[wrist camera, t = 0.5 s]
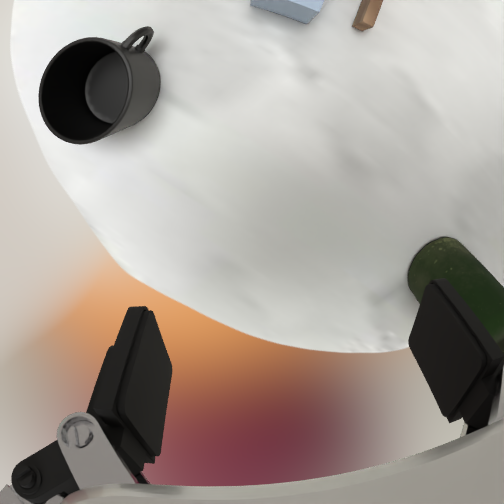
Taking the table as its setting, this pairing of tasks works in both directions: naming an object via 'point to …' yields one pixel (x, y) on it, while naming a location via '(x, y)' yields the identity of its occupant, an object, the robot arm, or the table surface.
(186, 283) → the table surface
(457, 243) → the green bottle
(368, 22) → the trap box
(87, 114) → the mug
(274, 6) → the block
